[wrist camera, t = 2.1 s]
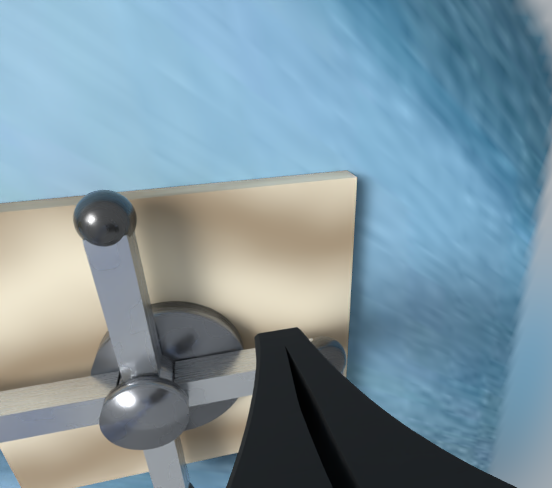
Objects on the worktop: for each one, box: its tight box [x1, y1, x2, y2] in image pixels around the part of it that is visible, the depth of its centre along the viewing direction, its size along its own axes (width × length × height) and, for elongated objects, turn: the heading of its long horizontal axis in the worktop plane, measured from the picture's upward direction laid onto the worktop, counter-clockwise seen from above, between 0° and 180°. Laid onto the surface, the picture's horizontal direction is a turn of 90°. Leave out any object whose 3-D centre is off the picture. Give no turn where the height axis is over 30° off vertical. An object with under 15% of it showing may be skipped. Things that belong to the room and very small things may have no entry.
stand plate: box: [0, 170, 357, 488], centre depth 19 cm, size 16×18×1 cm
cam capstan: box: [0, 190, 346, 488], centre depth 17 cm, size 18×18×4 cm
